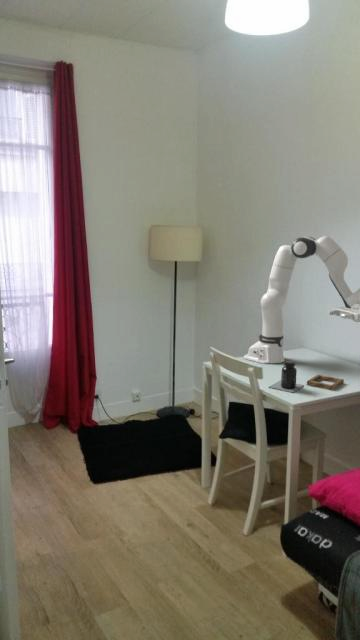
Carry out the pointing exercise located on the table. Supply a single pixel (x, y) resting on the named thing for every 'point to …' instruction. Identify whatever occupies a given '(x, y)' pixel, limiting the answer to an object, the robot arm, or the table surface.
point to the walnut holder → (314, 383)
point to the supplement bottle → (288, 375)
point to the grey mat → (278, 387)
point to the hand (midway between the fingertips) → (336, 314)
